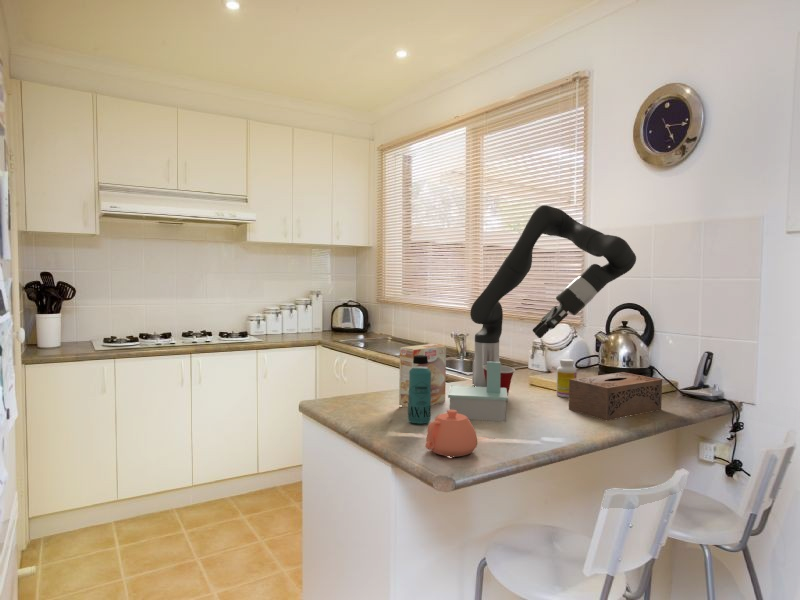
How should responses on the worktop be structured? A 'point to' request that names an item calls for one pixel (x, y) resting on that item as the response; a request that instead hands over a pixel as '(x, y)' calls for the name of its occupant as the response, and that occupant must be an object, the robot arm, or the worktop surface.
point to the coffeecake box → (435, 364)
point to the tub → (480, 408)
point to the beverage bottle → (419, 392)
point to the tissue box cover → (615, 395)
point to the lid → (487, 392)
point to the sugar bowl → (451, 435)
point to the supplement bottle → (565, 376)
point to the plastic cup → (502, 376)
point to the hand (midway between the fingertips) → (535, 334)
